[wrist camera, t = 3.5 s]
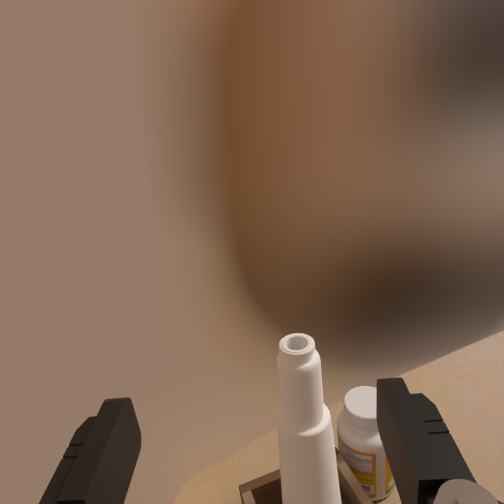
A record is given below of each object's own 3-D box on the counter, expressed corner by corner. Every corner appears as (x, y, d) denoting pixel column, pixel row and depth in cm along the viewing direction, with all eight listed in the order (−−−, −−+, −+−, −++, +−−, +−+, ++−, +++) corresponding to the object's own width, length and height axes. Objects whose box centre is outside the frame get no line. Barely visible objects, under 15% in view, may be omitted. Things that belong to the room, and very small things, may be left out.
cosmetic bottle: (281, 603, 32) (244, 378, 23) (280, 524, 38) (251, 319, 29) (360, 603, 32) (354, 372, 23) (348, 523, 37) (339, 312, 28)
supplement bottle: (380, 448, 44) (380, 374, 40) (407, 494, 39) (410, 415, 35) (331, 461, 43) (326, 387, 39) (353, 509, 38) (350, 431, 34)
